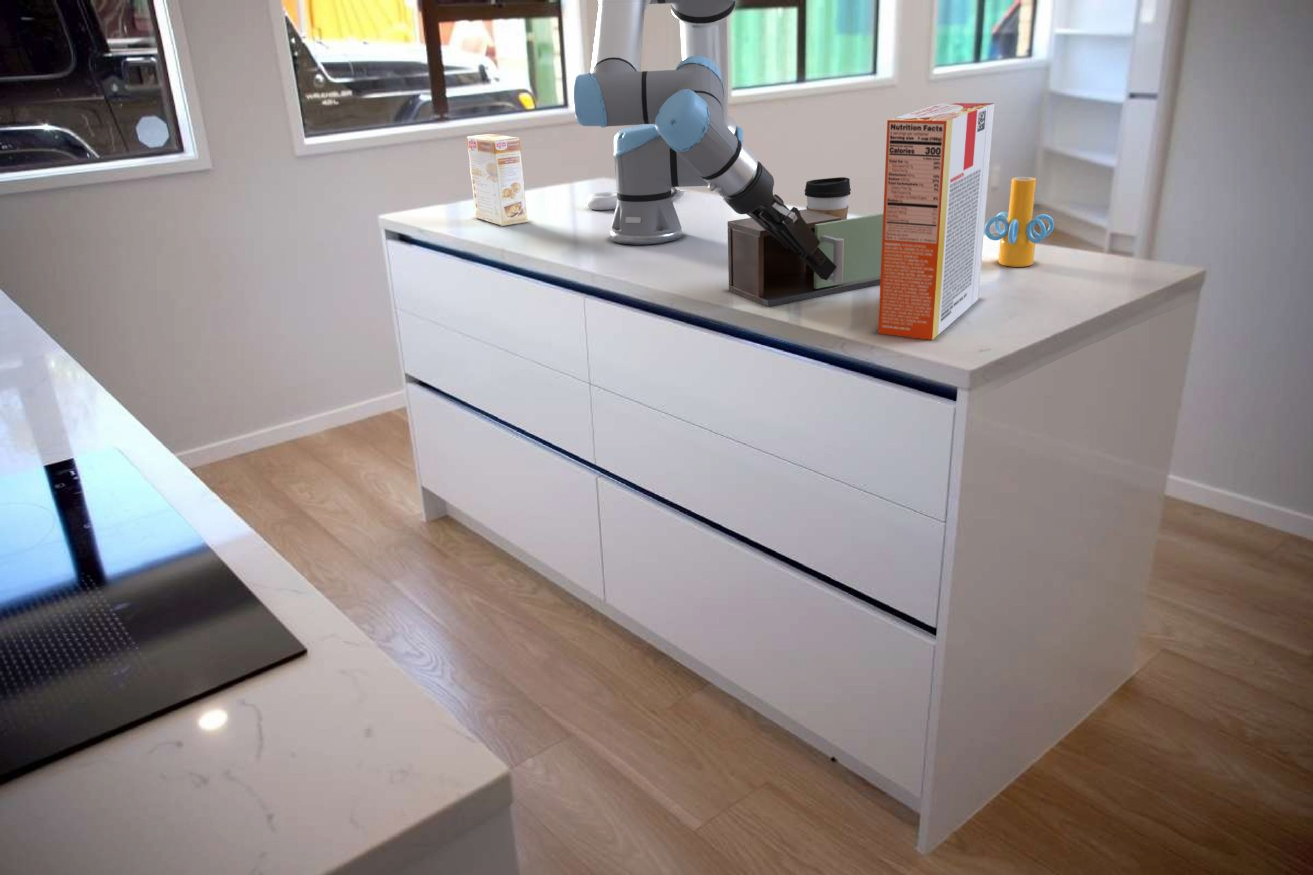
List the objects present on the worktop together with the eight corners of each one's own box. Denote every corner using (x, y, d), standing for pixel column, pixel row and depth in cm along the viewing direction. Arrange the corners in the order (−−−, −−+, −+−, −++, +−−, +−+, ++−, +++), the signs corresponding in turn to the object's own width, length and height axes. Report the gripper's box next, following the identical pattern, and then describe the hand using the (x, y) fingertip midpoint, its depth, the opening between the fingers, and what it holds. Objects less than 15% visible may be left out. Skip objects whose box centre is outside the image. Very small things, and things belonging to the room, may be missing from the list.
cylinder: (1037, 274, 172) (1047, 186, 166) (977, 268, 178) (984, 183, 172) (1053, 258, 182) (1063, 174, 176) (995, 253, 187) (1002, 172, 181)
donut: (585, 213, 245) (626, 210, 245) (584, 198, 244) (625, 196, 243) (588, 205, 254) (627, 203, 254) (587, 191, 253) (626, 189, 252)
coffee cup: (848, 265, 184) (850, 182, 178) (802, 265, 186) (803, 183, 180) (849, 254, 192) (851, 175, 186) (805, 255, 193) (806, 176, 187)
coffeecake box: (528, 222, 237) (520, 137, 229) (501, 226, 233) (492, 140, 225) (501, 214, 248) (492, 132, 240) (474, 218, 245) (465, 136, 237)
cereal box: (928, 294, 164) (940, 103, 152) (978, 299, 160) (994, 103, 148) (878, 333, 146) (887, 120, 134) (932, 340, 142) (946, 121, 130)
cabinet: (728, 291, 171) (727, 221, 167) (854, 267, 183) (856, 201, 178) (767, 306, 161) (767, 233, 157) (898, 280, 173) (902, 211, 168)
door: (813, 288, 166) (814, 224, 162) (887, 273, 172) (890, 212, 168) (834, 295, 161) (835, 229, 157) (909, 280, 168) (912, 217, 163)
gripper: (702, 193, 152) (791, 283, 165) (748, 205, 141) (840, 300, 155) (731, 154, 152) (818, 247, 165) (779, 163, 141) (868, 261, 155)
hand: (828, 272), depth 160 cm, fingers closed
